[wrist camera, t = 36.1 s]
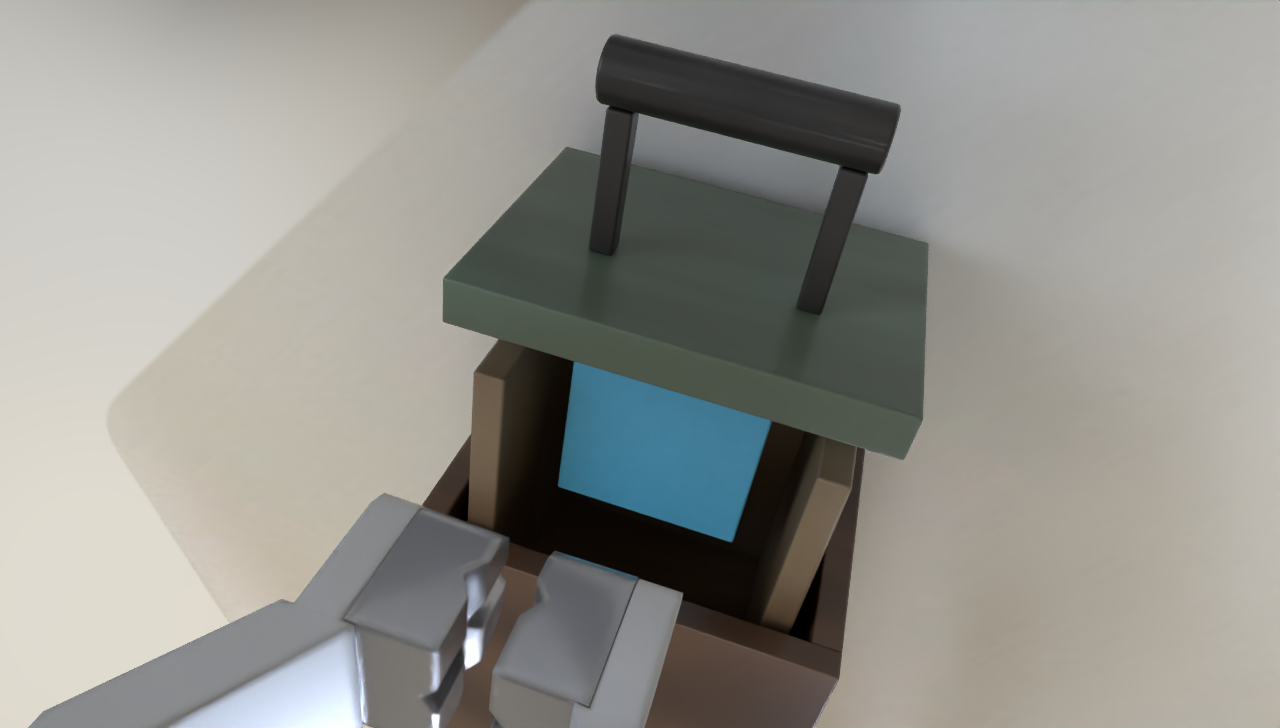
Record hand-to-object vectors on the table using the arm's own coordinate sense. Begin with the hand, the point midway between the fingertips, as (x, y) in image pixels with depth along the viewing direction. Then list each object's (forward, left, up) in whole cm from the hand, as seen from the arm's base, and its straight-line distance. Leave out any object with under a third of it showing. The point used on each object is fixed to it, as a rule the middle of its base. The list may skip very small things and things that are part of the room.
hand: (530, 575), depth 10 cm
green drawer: (+7, 0, -16) cm, 18 cm away
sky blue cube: (+7, 0, -15) cm, 17 cm away
